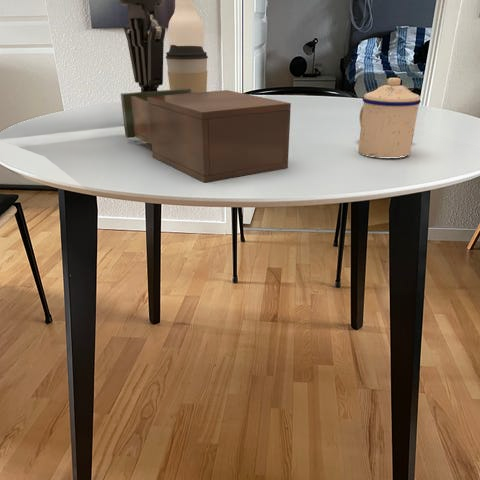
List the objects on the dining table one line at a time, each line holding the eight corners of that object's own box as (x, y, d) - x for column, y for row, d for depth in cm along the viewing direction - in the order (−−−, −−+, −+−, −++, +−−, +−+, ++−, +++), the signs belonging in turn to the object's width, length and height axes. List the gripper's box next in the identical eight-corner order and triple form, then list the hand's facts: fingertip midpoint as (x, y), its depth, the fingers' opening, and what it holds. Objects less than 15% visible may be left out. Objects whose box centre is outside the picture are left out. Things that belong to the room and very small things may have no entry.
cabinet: (152, 157, 83) (146, 96, 78) (227, 146, 90) (227, 90, 85) (204, 182, 70) (201, 112, 65) (287, 167, 77) (291, 103, 72)
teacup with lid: (422, 156, 83) (437, 79, 77) (378, 162, 80) (389, 82, 74) (378, 142, 92) (388, 72, 86) (336, 147, 89) (343, 75, 83)
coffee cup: (196, 115, 118) (193, 42, 110) (217, 120, 112) (216, 44, 104) (162, 119, 113) (156, 44, 105) (182, 125, 107) (178, 46, 99)
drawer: (122, 135, 93) (117, 92, 89) (187, 128, 100) (185, 87, 96) (163, 154, 80) (160, 105, 77) (234, 144, 87) (234, 98, 83)
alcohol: (168, 106, 130) (158, -35, 114) (179, 101, 137) (171, -32, 121) (200, 107, 128) (195, -36, 112) (210, 102, 135) (205, -33, 120)
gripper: (176, -24, 82) (184, 127, 94) (143, -19, 91) (155, 117, 104) (133, -25, 78) (148, 132, 91) (104, -21, 88) (121, 121, 100)
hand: (152, 124), depth 97 cm, fingers closed
